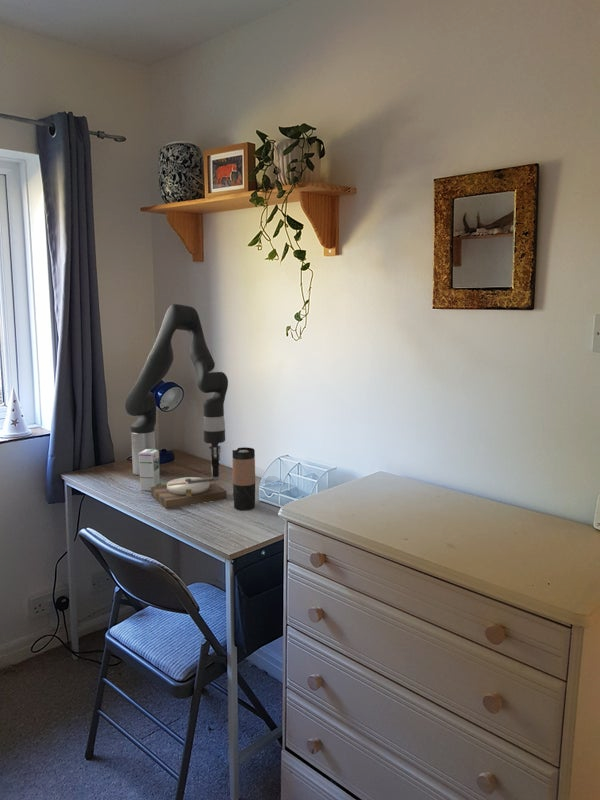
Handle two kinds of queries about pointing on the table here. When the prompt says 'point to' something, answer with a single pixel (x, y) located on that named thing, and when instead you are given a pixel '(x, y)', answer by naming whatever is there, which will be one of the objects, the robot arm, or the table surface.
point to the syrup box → (149, 469)
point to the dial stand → (187, 496)
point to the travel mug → (244, 478)
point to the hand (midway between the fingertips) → (215, 476)
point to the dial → (189, 485)
